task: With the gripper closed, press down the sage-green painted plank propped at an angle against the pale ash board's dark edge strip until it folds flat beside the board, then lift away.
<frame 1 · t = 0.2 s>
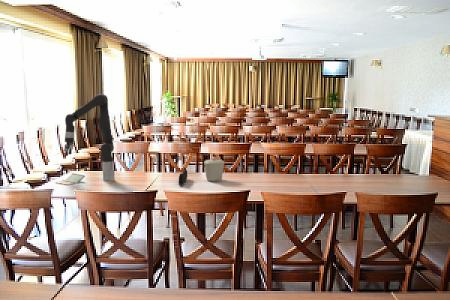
hand: (68, 155, 358), 22 cm above the table, tool pointing down, fingers open, 8 cm apart
canister: (214, 180, 359), on the table
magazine: (183, 183, 350), on the table
ash board: (65, 184, 343), on the table
sage plank: (74, 178, 350), point 3 cm above the table, hinge at 30.0°
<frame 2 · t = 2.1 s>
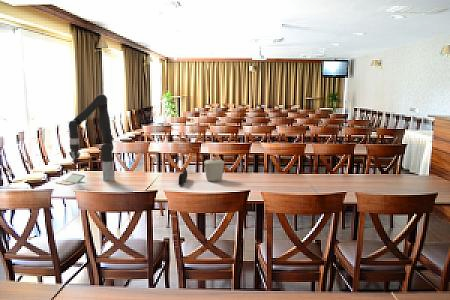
hand: (75, 163, 352), 16 cm above the table, tool pointing down, fingers closed
nothing on the table moved.
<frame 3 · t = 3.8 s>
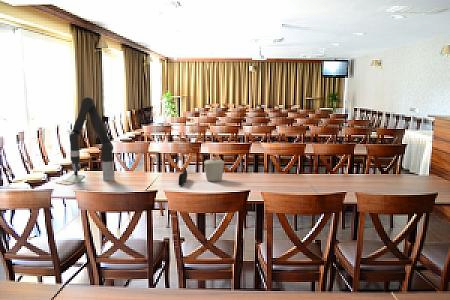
hand: (76, 175, 354), 5 cm above the table, tool pointing down, fingers closed
sage plank: (74, 178, 351), point 3 cm above the table, hinge at 26.0°, touching gripper
everything else where it was.
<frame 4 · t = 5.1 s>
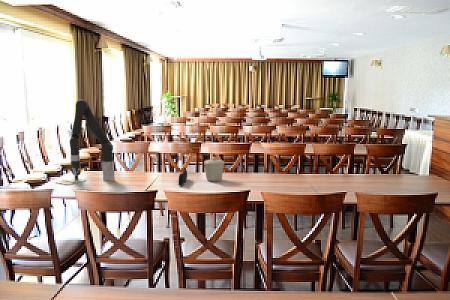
hand: (76, 179, 354), 2 cm above the table, tool pointing down, fingers closed
sage plank: (75, 181, 351), point 1 cm above the table, hinge at 0.7°, touching gripper
everything else where it was.
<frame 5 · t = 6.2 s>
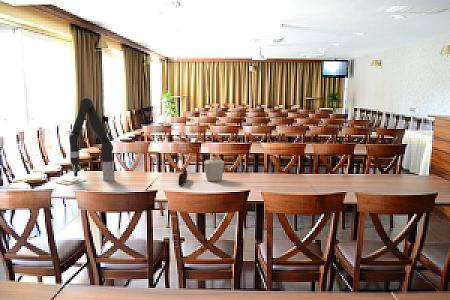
hand: (75, 176, 353), 5 cm above the table, tool pointing down, fingers closed
sage plank: (75, 181, 351), point 1 cm above the table, hinge at 0.6°
everything else where it was.
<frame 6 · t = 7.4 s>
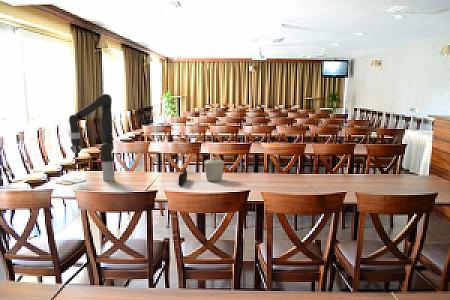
hand: (76, 157, 354), 21 cm above the table, tool pointing down, fingers closed
nothing on the table moved.
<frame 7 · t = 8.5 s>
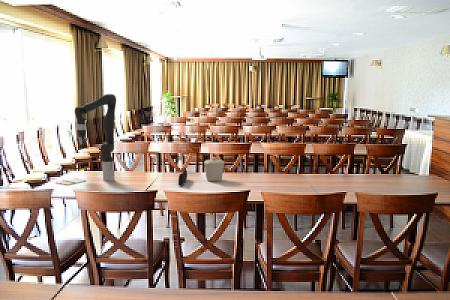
hand: (82, 148, 364), 27 cm above the table, tool pointing down, fingers closed
nothing on the table moved.
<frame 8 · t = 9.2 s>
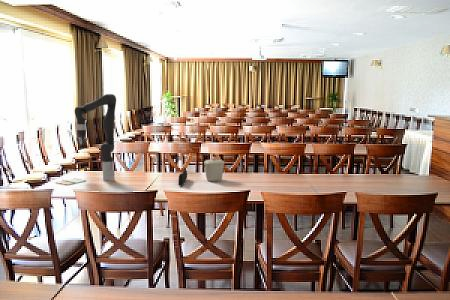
hand: (82, 148, 364), 27 cm above the table, tool pointing down, fingers closed
nothing on the table moved.
at the end: sage plank at +1° (first picture: +30°) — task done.
